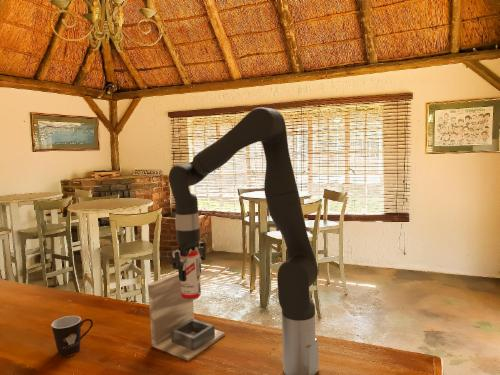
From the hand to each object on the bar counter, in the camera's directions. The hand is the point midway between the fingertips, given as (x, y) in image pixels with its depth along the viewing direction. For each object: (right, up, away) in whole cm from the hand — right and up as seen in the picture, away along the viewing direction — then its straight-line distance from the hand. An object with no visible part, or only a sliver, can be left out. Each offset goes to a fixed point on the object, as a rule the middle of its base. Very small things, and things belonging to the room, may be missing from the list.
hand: (190, 277), depth 127 cm
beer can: (0, -7, +1) cm, 7 cm away
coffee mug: (-38, -24, 0) cm, 45 cm away
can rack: (-1, -22, +4) cm, 22 cm away
